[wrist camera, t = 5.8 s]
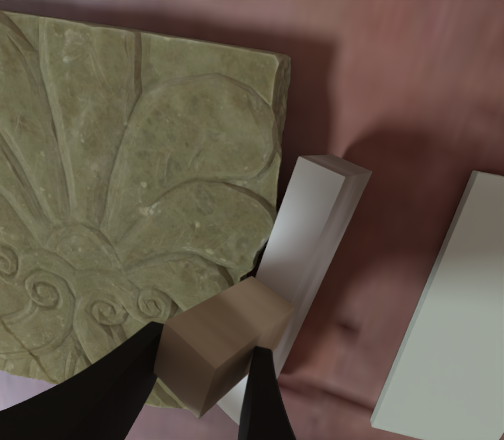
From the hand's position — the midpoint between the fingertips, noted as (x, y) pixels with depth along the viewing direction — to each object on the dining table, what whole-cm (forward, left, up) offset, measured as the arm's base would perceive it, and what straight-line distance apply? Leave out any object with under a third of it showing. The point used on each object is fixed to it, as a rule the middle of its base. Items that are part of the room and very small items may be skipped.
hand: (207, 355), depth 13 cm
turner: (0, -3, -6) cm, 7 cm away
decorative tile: (+1, +8, -7) cm, 11 cm away
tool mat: (0, -13, -6) cm, 15 cm away
